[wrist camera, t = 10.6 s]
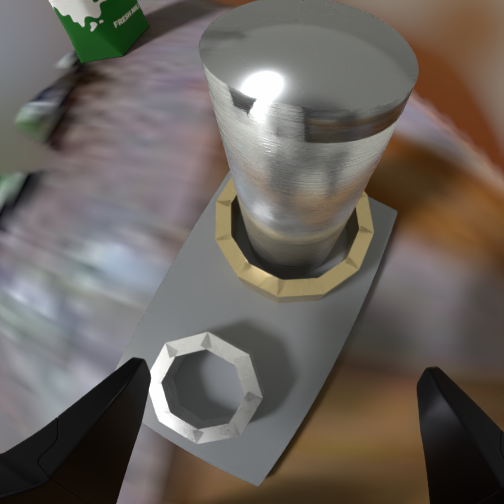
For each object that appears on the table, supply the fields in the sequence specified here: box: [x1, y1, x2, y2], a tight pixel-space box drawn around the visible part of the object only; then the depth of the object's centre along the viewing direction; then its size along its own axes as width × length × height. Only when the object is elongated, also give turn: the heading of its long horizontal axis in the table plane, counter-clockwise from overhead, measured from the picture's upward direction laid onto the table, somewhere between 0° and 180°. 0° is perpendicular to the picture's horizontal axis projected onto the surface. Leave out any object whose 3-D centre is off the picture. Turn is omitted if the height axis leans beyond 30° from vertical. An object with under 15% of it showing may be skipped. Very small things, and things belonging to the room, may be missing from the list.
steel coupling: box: [199, 0, 418, 276], centre depth 11 cm, size 5×5×13 cm
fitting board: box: [115, 171, 398, 487], centre depth 17 cm, size 19×11×1 cm, turn 152°
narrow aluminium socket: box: [149, 332, 264, 444], centre depth 15 cm, size 6×6×2 cm
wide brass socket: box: [215, 177, 374, 303], centre depth 17 cm, size 8×8×2 cm
